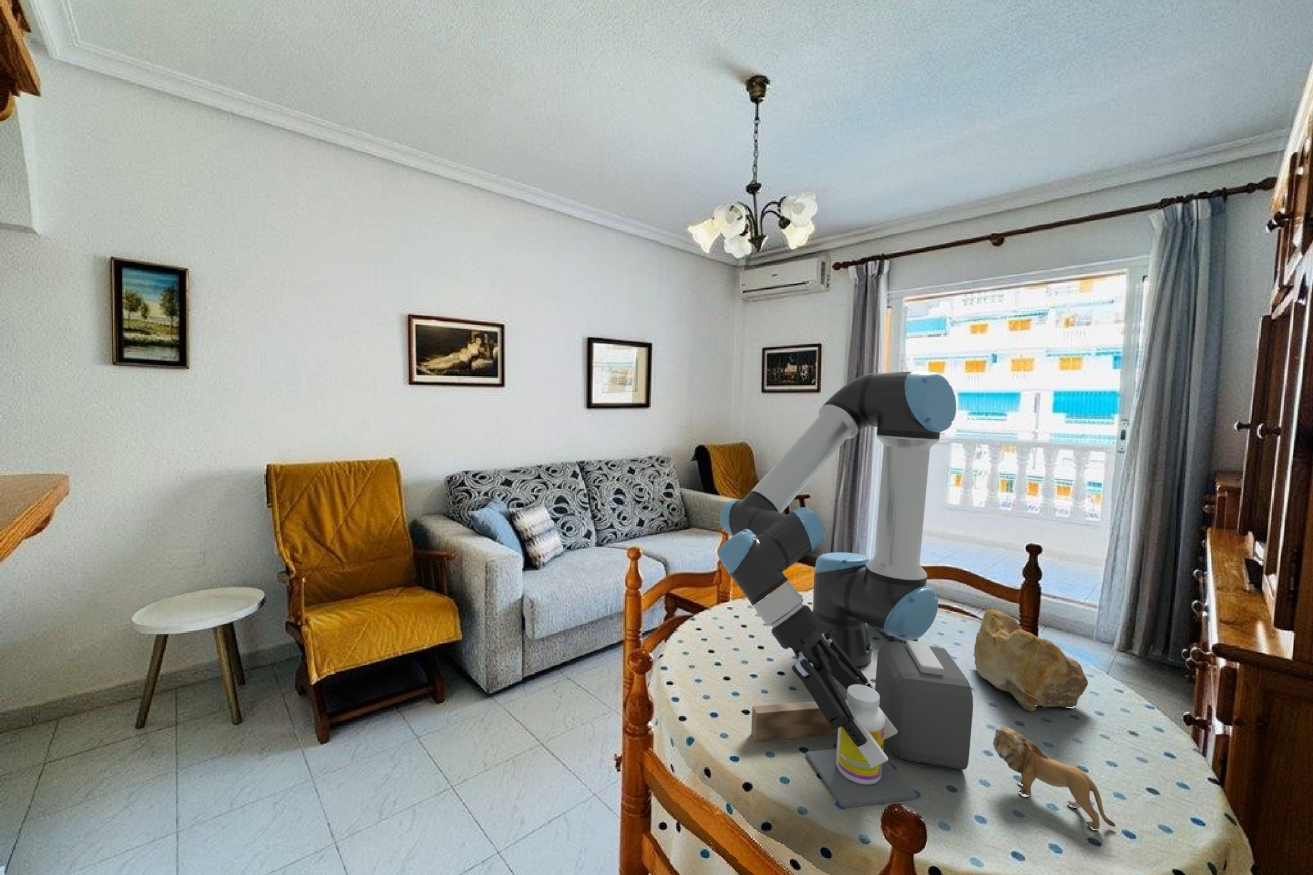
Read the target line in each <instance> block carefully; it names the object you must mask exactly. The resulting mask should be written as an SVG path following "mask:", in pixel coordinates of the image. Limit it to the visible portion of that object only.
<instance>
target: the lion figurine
mask: <svg viewBox="0 0 1313 875" xmlns="http://www.w3.org/2000/svg"><path fill="white" fill-rule="evenodd" d="M992 744H993V748H994V750H995V752H996V753H997V755H998V757H999V758H1000V759H1002V761H1004V762H1005V763H1006V764H1007V766H1008V768H1009V769H1010V770H1012V771H1013V772H1017V773H1019V774H1020V775H1021V779H1018V780H1019V781H1020V782H1021V784H1023V787H1022V788H1023V789H1019V790H1020V791H1019V790H1018V791H1019V792H1021V793H1022V794H1026V795H1030V796H1031V795H1032V786H1033V783H1034V781H1035V780H1036V779H1037V780H1040V781H1041V782H1043V783H1045V784H1047V785H1049V786H1052V787H1056V788H1067V789H1068V790H1069V791H1070V793H1071V795H1072V797H1073V799H1074V800H1075V801H1072V800H1067V802H1068V803H1069V805H1072V806H1073V807H1075V808H1078V809H1079V808H1081V809H1082V810H1083V811H1084V812H1085V813H1086V814H1087V815H1088V816H1089V817H1090V819H1091V820H1092V821H1086V823H1087V824H1088V825H1089V826H1090V827H1092V828H1093V829H1098V830H1099V829H1100V826H1101V825H1100V816H1101V818H1102V820H1103V821H1104V823H1106V824H1107V825H1109V827H1110V826H1111V827H1113V828H1114V827H1116V823H1115V822H1113V820H1112V819H1110V818H1108V817H1107V816H1106V814H1105V812H1104V807H1103V802H1102V798H1101V795H1100V792H1099V790H1098V788H1097V785H1096V784H1095V783H1094V782H1093V780H1092V779H1091V778H1090V776H1089V775H1088V774H1087V773H1086V772H1084V771H1083V770H1082V769H1081V768H1078V767H1076V766H1073V765H1070V764H1067V763H1063V762H1060V761H1058V760H1057V761H1056V760H1054V759H1052V758H1050V757H1048V756H1047V755H1045V754H1044V753H1043V752H1042V750H1041V749H1040V747H1039V746H1037V745H1036V743H1033V742H1032V741H1031V740H1030V739H1027V738H1026V735H1024V734H1021V733H1020V732H1019V731H1017V730H1016V729H1012V728H1010V727H1007V726H1004V727H1003V726H1002V727H1000V728H999V729H995V735H994V738H993V742H992ZM1091 792H1093V796H1094V799H1095V800H1094V801H1095V803H1096V806H1097V809H1098V812H1099V813H1098V812H1097V811H1096V810H1095V809H1094V807H1093V805H1092V802H1091V798H1090V793H1091ZM1099 815H1100V816H1099ZM1087 824H1086V825H1087Z"/></svg>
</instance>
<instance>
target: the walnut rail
mask: <svg viewBox="0 0 1313 875" xmlns="http://www.w3.org/2000/svg"><path fill="white" fill-rule="evenodd" d="M844 700H845V701H846V700H848V699H847V698H844ZM750 727H751V730H750V735H751V736H752V739H754V742H763V741H774V740H784V739H785V740H786V739H797V738H807V737H808V738H810V737H819V736H828V735H831V736H832V735H838V729H833V728H832V727H831V726H830V724H829V723H828V721H827V720H826V718H825V716H824V715H823V713H822V712H821V710H820V709H819V707H818V705H817V704H816V702H815V701H814V700H813V701H804V702H802V701H800V702H791V703H790V702H789V703H779V704H778V703H777V704H776V703H775V704H766V705H765V704H764V705H753V706H752V712H751V726H750Z"/></svg>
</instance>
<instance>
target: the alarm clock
mask: <svg viewBox="0 0 1313 875" xmlns="http://www.w3.org/2000/svg"><path fill="white" fill-rule="evenodd" d="M875 670H876V671H875V672H876V673H875V684H874V690H875V691H877V692H878V694H879V696H880V704H879V707H880V708H881V710H882V711H883V712H884V714H885V715H886V716H887V718H888V719H889V720H890V722H891V723H892V724H893V726H894V727H895V728H896V730H897V731H898V732H897V734H895V735H893V736H891V737H889V738H887V739H886V742H887V745H888V746H889V748H890V750H891V751H893V753H895V755H896V756H897V757H898V758H900V759H903V760H905V761H909V762H915V763H921V764H927V765H933V766H937V767H944V768H945V767H946V768H951V769H956V770H963V771H964V770H966V769H968V766H969V761H970V750H971V748H970V747H971V738H972V727H973V724H972V723H973V711H974V696H973V690H972V687H971V684H970V682H969V680H968V679H967V677H966V675H965V674H964V673H963V671H962V670H961V669H960V667H959V666H958V664H957V663H956V662H955V660H954V659H953V657H952V656H951V654H949V652H948V650H947V649H946V648H944V647H941V646H931V645H928V643H927V642H926V641H925V642H924V641H910V640H907V641H906V643H900V642H889V641H888V642H885V643H883V644H882V645H881V646H879V648H878V652H877V656H876V669H875Z"/></svg>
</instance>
